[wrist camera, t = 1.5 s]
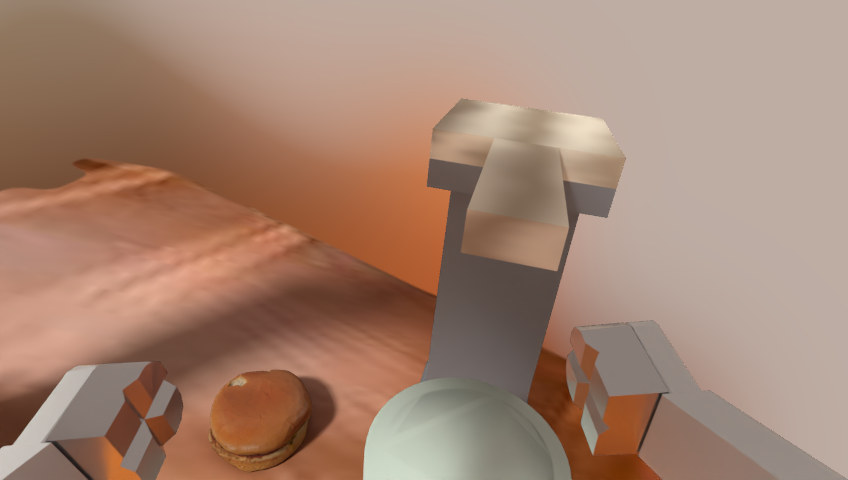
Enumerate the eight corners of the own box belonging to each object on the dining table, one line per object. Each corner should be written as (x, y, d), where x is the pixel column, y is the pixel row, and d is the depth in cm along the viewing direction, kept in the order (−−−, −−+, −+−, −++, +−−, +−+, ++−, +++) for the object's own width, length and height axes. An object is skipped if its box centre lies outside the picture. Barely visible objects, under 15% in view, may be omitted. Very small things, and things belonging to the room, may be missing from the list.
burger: (279, 486, 40) (276, 451, 38) (189, 456, 42) (181, 421, 40) (328, 404, 49) (327, 372, 47) (251, 382, 51) (247, 350, 48)
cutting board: (370, 234, 20) (372, 191, 19) (458, 121, 41) (461, 98, 40) (660, 291, 18) (678, 247, 17) (595, 141, 39) (602, 118, 38)
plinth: (398, 454, 44) (429, 158, 30) (426, 370, 54) (458, 121, 41) (521, 488, 42) (616, 188, 28) (525, 394, 53) (595, 141, 39)
